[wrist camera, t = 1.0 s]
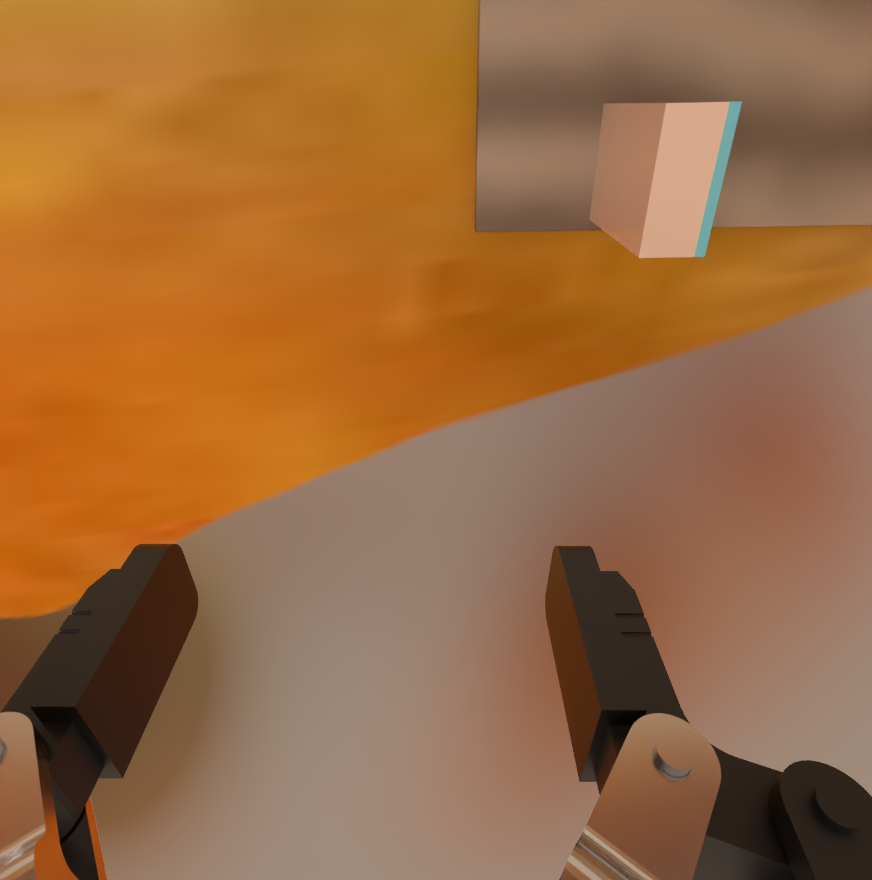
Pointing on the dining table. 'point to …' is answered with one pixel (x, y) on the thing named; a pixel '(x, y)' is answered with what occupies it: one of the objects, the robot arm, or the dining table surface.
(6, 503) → the dining table surface
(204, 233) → the dining table surface
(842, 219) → the board
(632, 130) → the tile
